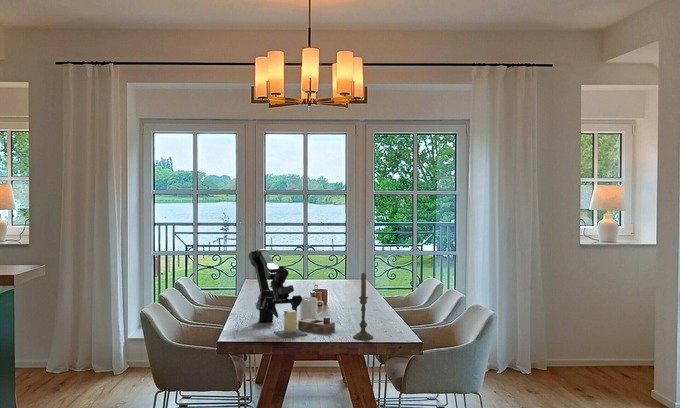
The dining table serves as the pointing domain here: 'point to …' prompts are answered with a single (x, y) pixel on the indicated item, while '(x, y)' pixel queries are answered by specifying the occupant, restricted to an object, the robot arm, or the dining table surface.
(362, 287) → the candlestick holder
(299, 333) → the rubber mat
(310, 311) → the mug
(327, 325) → the body
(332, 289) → the dining table surface
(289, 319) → the tan wood-grain block
